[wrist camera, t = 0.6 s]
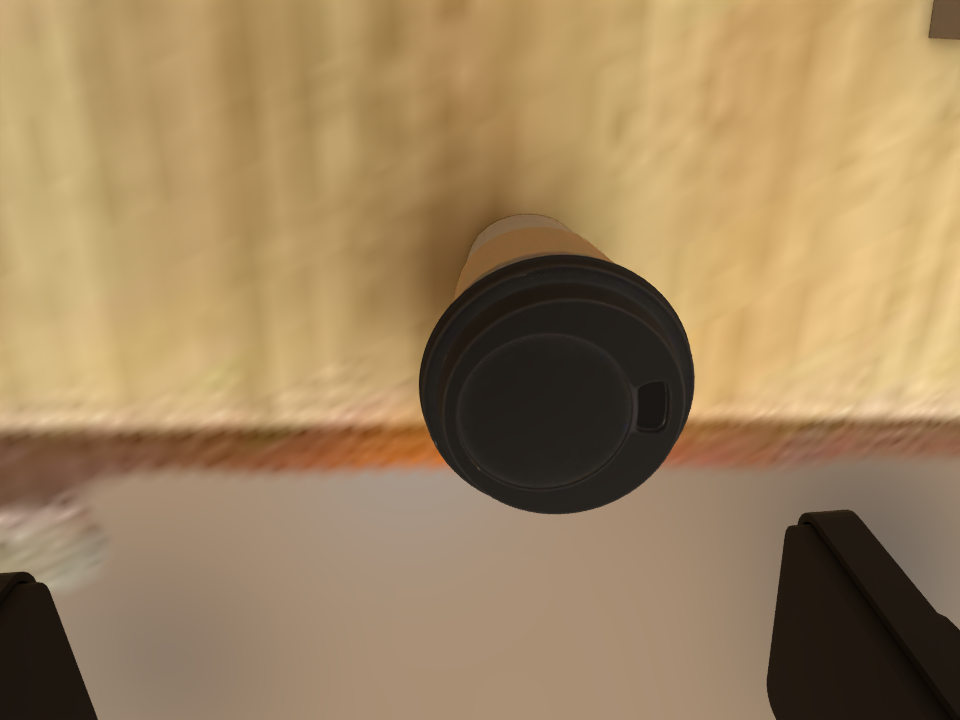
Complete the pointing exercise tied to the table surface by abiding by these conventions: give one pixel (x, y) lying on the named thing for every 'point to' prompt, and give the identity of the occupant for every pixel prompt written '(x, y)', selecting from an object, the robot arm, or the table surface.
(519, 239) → the coffee cup
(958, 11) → the dome base
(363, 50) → the table surface
